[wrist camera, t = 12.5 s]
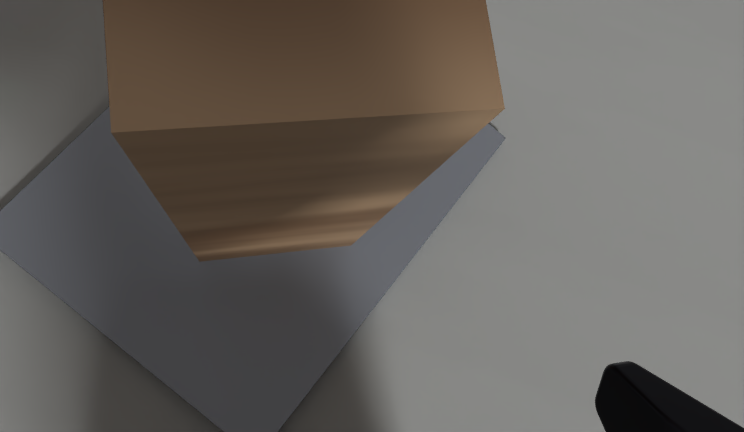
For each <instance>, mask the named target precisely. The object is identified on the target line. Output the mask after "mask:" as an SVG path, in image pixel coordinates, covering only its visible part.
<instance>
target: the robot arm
mask: <svg viewBox="0 0 744 432" xmlns="http://www.w3.org/2000/svg"><path fill="white" fill-rule="evenodd" d="M595 405H596V410H597V413H598V415H599V418H600V420H601V422H602V424H603V427H604V429H605V431H606V432H744V428H743V427H741V426H739V425H738V424H736V423H734V422H733V421H731V420H729V419H728V418H726V417H724V416H723V415H721V414H719V413H718V412H716V411H714V410H713V409H711V408H709V407H708V406H706V405H704V404H703V403H701V402H699V401H698V400H696V399H694V398H693V397H691V396H689V395H688V394H686V393H684V392H683V391H681V390H679V389H678V388H676V387H674V386H673V385H671V384H669V383H668V382H666V381H664V380H662V379H661V378H659V377H657V376H656V375H654V374H652V373H651V372H649V371H647V370H646V369H644V368H642V367H641V366H639V365H637V364H635V363H633V362H629V361H626V362H620V363H614V364H610V365H608V366H607V367H606V368H605V370H604V372H603V375H602V379H601V382H600V385H599V388H598V391H597V394H596V397H595Z"/></svg>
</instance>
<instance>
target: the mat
mask: <svg viewBox="0 0 744 432" xmlns="http://www.w3.org/2000/svg"><path fill="white" fill-rule="evenodd" d="M504 140H505V137H504V136H503V135H502V134H501V133H499V132H498V131H497V130H496V129H495V128H493V127H492V126H491V125H490V124H489V123H488V124H487V125H486V126H485V127H484V128H482V129H481V130H480V131H479V132H478V133H477V134H476V135H475V136H473V137H472V138H471V139H470V140H469V141H468V142H467V143H466V144H464V145H463V146H462V147H461V148H460V149H459V150H458V151H457V152H455V153H454V154H453V155H452V156H451V157H450V158H449V159H448V160H446V161H445V162H444V163H443V164H442V165H441V166H440V167H439V168H438V169H436V170H435V171H434V172H433V173H432V174H431V175H430V176H429V177H427V178H426V179H425V180H424V181H423V182H422V183H421V184H420V185H418V186H417V187H416V188H415V189H414V190H413V191H412V192H411V193H409V194H408V195H407V196H406V197H405V198H404V199H403V200H402V201H400V202H399V203H398V204H397V205H396V206H395V207H394V208H393V209H391V210H390V211H389V212H388V213H387V214H386V215H385V216H384V217H383V218H381V219H380V220H379V221H378V222H377V223H376V224H375V225H374V226H372V227H371V228H370V229H369V230H368V231H367V232H366V233H365V234H363V235H362V236H361V237H360V238H359V239H358V240H357V241H356V242H354V243H353V244H352V245H351V246H342V247H332V248H323V249H314V250H304V251H295V252H285V253H276V254H267V255H257V256H248V257H239V258H229V259H220V260H210V261H201V262H199V260H198V259H197V257H196V256H195V254H194V253H193V251H192V250H191V248H190V247H189V246H188V244H187V243H186V241H185V240H184V238H183V237H182V235H181V234H180V232H179V231H178V230H177V228H176V227H175V225H174V224H173V222H172V221H171V219H170V218H169V216H168V215H167V213H166V212H165V211H164V209H163V208H162V206H161V205H160V203H159V202H158V200H157V199H156V197H155V196H154V194H153V193H152V192H151V190H150V189H149V187H148V186H147V184H146V183H145V181H144V180H143V178H142V177H141V176H140V174H139V173H138V171H137V170H136V168H135V167H134V165H133V164H132V162H131V161H130V159H129V158H128V157H127V155H126V154H125V152H124V151H123V149H122V148H121V146H120V145H119V143H118V142H117V140H116V139H115V138H114V136H113V135H112V133H111V122H110V106H109V107H108V108H107V109H106V110H105V111H104V112H103V113H102V114H101V115H100V116H99V117H98V118H97V119H95V120H94V121H93V122H92V123H91V124H90V125H89V126H88V127H87V128H86V129H85V130H84V131H83V132H82V133H81V134H80V135H79V136H78V137H77V138H76V139H75V140H74V141H73V142H72V143H70V144H69V145H68V146H67V147H66V148H65V149H64V150H63V151H62V152H61V153H60V154H59V155H58V156H57V157H56V158H55V159H54V160H53V161H52V162H51V163H50V164H49V165H48V166H46V167H45V168H44V169H43V170H42V171H41V172H40V173H39V174H38V175H37V176H36V177H35V178H34V179H33V180H32V181H31V182H30V183H29V184H28V185H27V186H26V187H25V188H24V189H22V190H21V191H20V192H19V193H18V194H17V195H16V196H15V197H14V198H13V199H12V200H11V201H10V202H9V203H8V204H7V205H6V206H5V207H4V208H3V209H2V210H1V211H0V250H1V251H2V252H3V253H5V254H6V255H7V256H8V257H9V258H11V259H12V260H13V261H14V262H16V263H17V264H18V265H19V266H21V267H22V268H23V269H24V270H25V271H27V272H28V273H29V274H30V275H32V276H33V277H34V278H35V279H37V280H38V281H39V282H40V283H41V284H43V285H44V286H45V287H46V288H48V289H49V290H50V291H51V292H53V293H54V294H55V295H56V296H57V297H59V298H60V299H61V300H62V301H64V302H65V303H66V304H67V305H69V306H70V307H71V308H72V309H73V310H75V311H76V312H77V313H78V314H80V315H81V316H82V317H83V318H85V319H86V320H87V321H88V322H89V323H91V324H92V325H93V326H94V327H96V328H97V329H98V330H99V331H101V332H102V333H103V334H104V335H105V336H107V337H108V338H109V339H110V340H112V341H113V342H114V343H115V344H117V345H118V346H119V347H120V348H121V349H123V350H124V351H125V352H126V353H128V354H129V355H130V356H131V357H133V358H134V359H135V360H136V361H137V362H139V363H140V364H141V365H142V366H144V367H145V368H146V369H147V370H149V371H150V372H151V373H152V374H153V375H155V376H156V377H157V378H158V379H160V380H161V381H162V382H163V383H165V384H166V385H167V386H168V387H169V388H171V389H172V390H173V391H174V392H176V393H177V394H178V395H179V396H181V397H182V398H183V399H184V400H185V401H187V402H188V403H189V404H190V405H192V406H193V407H194V408H195V409H197V410H198V411H199V412H200V413H201V414H203V415H204V416H205V417H206V418H208V419H209V420H210V421H211V422H213V423H214V424H215V425H216V426H217V427H219V428H220V429H221V430H222V431H224V432H278V431H279V429H280V428H281V427H282V426H283V424H284V423H285V422H286V420H287V419H288V418H289V417H290V415H291V414H292V413H293V411H294V410H295V409H296V408H297V406H298V405H299V404H300V402H301V401H302V400H303V399H304V397H305V396H306V395H307V393H308V392H309V391H310V390H311V388H312V387H313V386H314V384H315V383H316V382H317V381H318V379H319V378H320V377H321V375H322V374H323V373H324V372H325V370H326V369H327V368H328V366H329V365H330V364H331V363H332V361H333V360H334V359H335V357H336V356H337V355H338V353H339V352H340V351H341V350H342V348H343V347H344V346H345V344H346V343H347V342H348V341H349V339H350V338H351V337H352V335H353V334H354V333H355V332H356V330H357V329H358V328H359V326H360V325H361V324H362V323H363V321H364V320H365V319H366V317H367V316H368V315H369V314H370V312H371V311H372V310H373V308H374V307H375V306H376V305H377V303H378V302H379V301H380V299H381V298H382V297H383V296H384V294H385V293H386V292H387V290H388V289H389V288H390V287H391V285H392V284H393V283H394V281H395V280H396V279H397V277H398V276H399V275H400V274H401V272H402V271H403V270H404V268H405V267H406V266H407V265H408V263H409V262H410V261H411V259H412V258H413V257H414V256H415V254H416V253H417V252H418V250H419V249H420V248H421V247H422V245H423V244H424V243H425V241H426V240H427V239H428V238H429V236H430V235H431V234H432V232H433V231H434V230H435V229H436V227H437V226H438V225H439V223H440V222H441V221H442V220H443V218H444V217H445V216H446V214H447V213H448V212H449V211H450V209H451V208H452V207H453V205H454V204H455V203H456V202H457V200H458V199H459V198H460V196H461V195H462V194H463V192H464V191H465V190H466V189H467V187H468V186H469V185H470V183H471V182H472V181H473V180H474V178H475V177H476V176H477V174H478V173H479V172H480V171H481V169H482V168H483V167H484V165H485V164H486V163H487V162H488V160H489V159H490V158H491V156H492V155H493V154H494V153H495V151H496V150H497V149H498V147H499V146H500V145H501V144H502V142H503V141H504Z"/></svg>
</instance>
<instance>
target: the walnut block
mask: <svg viewBox="0 0 744 432" xmlns="http://www.w3.org/2000/svg"><path fill="white" fill-rule="evenodd" d="M103 11H104V27H105V43H106V59H107V75H108V91H109V106H110V122H111V133H112V135H113V136H114V138H115V139H116V140H117V142H118V143H119V145H120V146H121V148H122V149H123V151H124V152H125V154H126V155H127V157H128V158H129V159H130V161H131V162H132V164H133V165H134V167H135V168H136V170H137V171H138V173H139V174H140V176H141V177H142V178H143V180H144V181H145V183H146V184H147V186H148V187H149V189H150V190H151V192H152V193H153V194H154V196H155V197H156V199H157V200H158V202H159V203H160V205H161V206H162V208H163V209H164V211H165V212H166V213H167V215H168V216H169V218H170V219H171V221H172V222H173V224H174V225H175V227H176V228H177V230H178V231H179V232H180V234H181V235H182V237H183V238H184V240H185V241H186V243H187V244H188V246H189V247H190V248H191V250H192V251H193V253H194V254H195V256H196V257H197V259H198V260H199V262H201V261H210V260H220V259H229V258H239V257H248V256H257V255H267V254H276V253H285V252H295V251H304V250H314V249H323V248H332V247H342V246H351V245H352V244H353V243H354V242H356V241H357V240H358V239H359V238H360V237H361V236H362V235H363V234H365V233H366V232H367V231H368V230H369V229H370V228H371V227H372V226H374V225H375V224H376V223H377V222H378V221H379V220H380V219H381V218H383V217H384V216H385V215H386V214H387V213H388V212H389V211H390V210H391V209H393V208H394V207H395V206H396V205H397V204H398V203H399V202H400V201H402V200H403V199H404V198H405V197H406V196H407V195H408V194H409V193H411V192H412V191H413V190H414V189H415V188H416V187H417V186H418V185H420V184H421V183H422V182H423V181H424V180H425V179H426V178H427V177H429V176H430V175H431V174H432V173H433V172H434V171H435V170H436V169H438V168H439V167H440V166H441V165H442V164H443V163H444V162H445V161H446V160H448V159H449V158H450V157H451V156H452V155H453V154H454V153H455V152H457V151H458V150H459V149H460V148H461V147H462V146H463V145H464V144H466V143H467V142H468V141H469V140H470V139H471V138H472V137H473V136H475V135H476V134H477V133H478V132H479V131H480V130H481V129H482V128H484V127H485V126H486V125H487V124H488V123H489V122H490V121H491V120H492V119H494V118H495V117H496V116H497V115H498V114H499V113H500V112H501V111H503V110H504V109H505V108H504V102H503V96H502V91H501V85H500V79H499V74H498V68H497V62H496V56H495V51H494V45H493V39H492V34H491V28H490V22H489V17H488V11H487V5H486V0H103Z"/></svg>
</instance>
